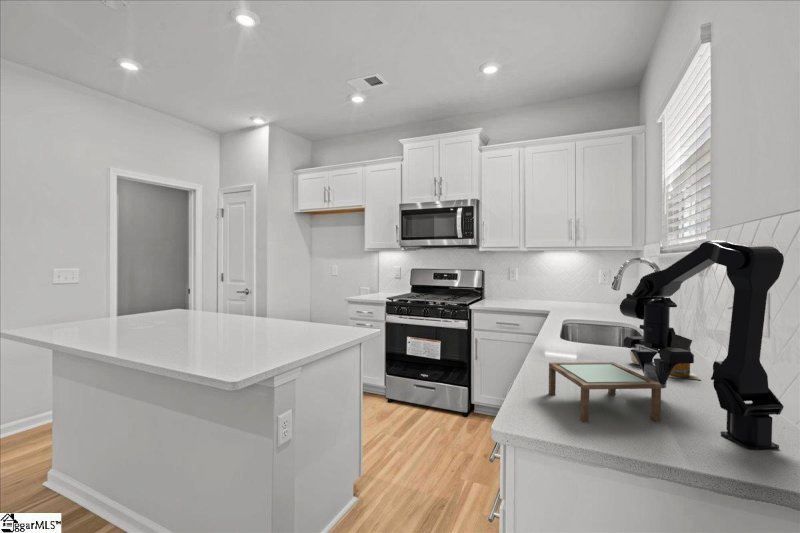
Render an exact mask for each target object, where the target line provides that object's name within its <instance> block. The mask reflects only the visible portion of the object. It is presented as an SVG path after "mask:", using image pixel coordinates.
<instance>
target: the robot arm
mask: <svg viewBox="0 0 800 533" xmlns="http://www.w3.org/2000/svg"><path fill="white" fill-rule="evenodd" d="M784 262H785V259H784V254H783V253H782V252H781V251H780V250H779V249H777V248H776V247H774V246H772V245H771V246H769V245H744V244H738V243H736V244H735V243H732V242H727V241H724V240H707V241H703V242H701V244H700V245H699V246H698V247H696V248H695V249H693V251H690V252H689V253H688V254H686V255H684V256H683V257H682V258H680V259H679V260H677V261H676V262H674V263H672V264H671V265H670V266H668V267H666V268H665V269H662V270H658V271H654V272H651V273H648V274H646V275H643V276H642V277H641V278H640V279H639V283H637V286H636V288H635V290H634V291H633V292H632V293H626V297H624V299H622V301H621V302H620V304H619V311H620V313H621V314H622V315H623V316H625V317H627V318H628V317H629V318H633V319H637V320H642V321H643V324H639V329H640V330H642V331H643V332H642V333H643V335H642V336H640V335H639V336H638V335H637V336H625V337H624V338H623V341H622V342H623V347H625V348H628V349H630V352H632V353H633V354H634V356H635V358H636V359H637V361H638V363H639V365H638V366H640V369H641V371H642V372H643V374H644V363H645V362H654V363H655V367H656V371H657V375H658V379H659V382H660V384H661V385H665V383H666V381H667V382H668V379H669V378H670V377H669V375H670V373H671V371H672V369H673V367H674V366H675V365H677V364H678V363H690V364H694V363H695V354H694V353H693V352H692V351H689V348H690V349H691V346H692V343H693V339H691V338H687V337H685V336H683V335H680V334H677V333H676V332H675V329H674V327H670V320H671V319H670V316H671V315H670V314H671V313H670V311H671V310H670V308H677V307H678V305H677V303H675V302H674V301H673V300H672V299H671V297H672V296H673V295H674V294H676V292H678V291H679V290H681V286H682V284H683V283H684V282H685V281H687V280H688V279H690V278H692V277H694V276H695V275H698V274H699V273H701V272H702V271H705V270H706V269H708V268H709V267H711V266H713V265H714V264H717V265H720V266H723V267H725V268H726V276H727V278H728V280H729V282H730V284H731V285H732V287H733V290H734V291H733V298H732V299H733V301H732V308H731V309H732V310H731V320H730V327H729V337H728V338H729V339H728V346H727V348H728V349H727V355H726V357H725V358H724V359H723V360H718V361H717V360H715V361H714V362H713V364H712V376H711V377H710V380H711V381H713V383H712V384H713V389H714V390H715V392H716V396H717V400H718V403H719V406H720V409H723V410H725V411H726V431H725V430H724V431H722V430H721V431H720V435H722V436H723V437H725V438H727V439H729V440H731V441H733V442H735V443H737V444H738V445H741V446H742V447H745V448H746V449H749V450H760V449H761V450H765V449H767V450H769V449H773V450H774V449H780V445H779V444H777V443H774V442H773V417H772V416H771V415H776V416H777V415H781V413H782V411H783V409H784V404H782V402H781V401H780V400H779V399H778V397H777V396H776V395H775V394H774V392H773V391H772V389H770V387H769V381H768V380H769V378H768V373H767V371H766V370H765V369H764V366H763V365H762V363H761V353H762V352H761V351H762V343H763V333H764V326H765V317H766V308H767V307H766V306H767V301H768V300H767V299H768V292H769V290H770V289H771V288H772V287H773V285H775V283H776V282H777V280H778V279H779V278H780V275H781V272H782V269H783V266H784ZM632 349H633V350H632ZM657 354H659V358H657V357H656V358H654V357H655V356H656V355H657ZM747 402H749V403H747Z"/></svg>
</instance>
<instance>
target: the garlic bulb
mask: <svg viewBox="0 0 800 533" xmlns="http://www.w3.org/2000/svg"><path fill="white" fill-rule="evenodd" d="M631 350H633V348H631ZM629 357H630V361H631V362H632V363H634V364H636V365H638V366H640V365H639V363H638V361H637V359H636V358H635V356H634V354H633V353H632V352H631V351H630V352H629Z"/></svg>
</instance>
